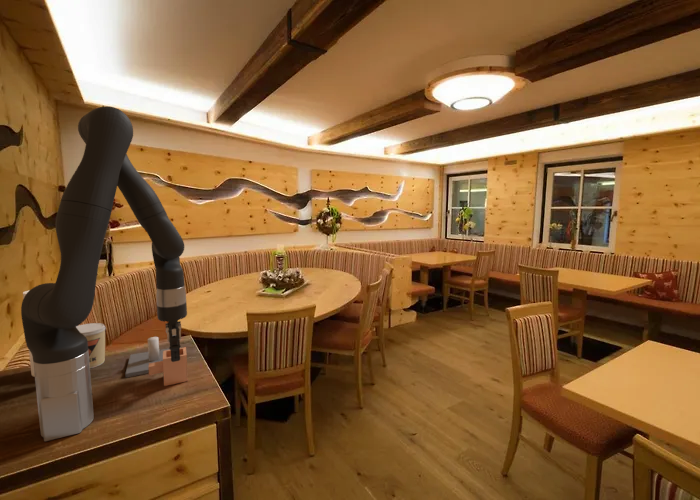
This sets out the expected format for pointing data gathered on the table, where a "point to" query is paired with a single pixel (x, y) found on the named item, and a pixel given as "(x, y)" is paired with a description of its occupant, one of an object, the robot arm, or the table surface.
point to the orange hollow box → (171, 368)
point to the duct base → (145, 358)
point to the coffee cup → (94, 342)
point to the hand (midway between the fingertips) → (175, 354)
